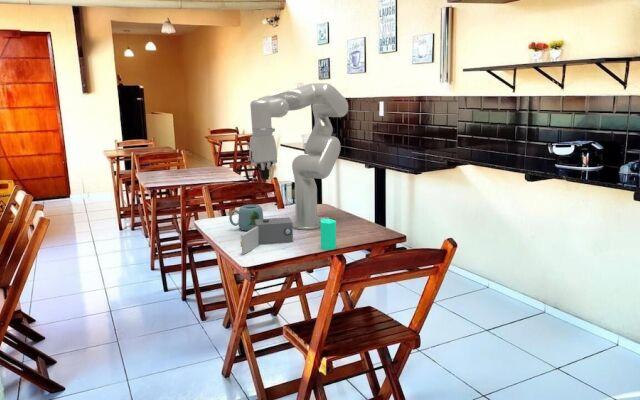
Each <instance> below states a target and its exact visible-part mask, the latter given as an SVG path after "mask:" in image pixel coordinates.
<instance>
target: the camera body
mask: <svg viewBox="0 0 640 400" xmlns="http://www.w3.org/2000/svg"><path fill="white" fill-rule="evenodd" d="M293 223H294V222H293V221H292V220H291V218H290V217H274V218H271V217H270V218H263V219H255V227H256V226H259V245H273V244H284V243H285V244H286V243H287V244H288V243H294V232H293V231H294V228H293ZM259 245H258V246H259Z"/></svg>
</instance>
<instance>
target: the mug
mask: <svg viewBox="0 0 640 400" xmlns="http://www.w3.org/2000/svg"><path fill="white" fill-rule="evenodd" d="M263 212H264V211H263V207H262V206H260V205H258V204H245V205H242V206H240V207H239V209H238V210H237V209H232V210H231V211H230V213H229V221H230V224H231V225H232V226H233V227H236V226H238V228H239V229H241V230H242V231H245V232H248V231H249V230H251V229H253V228H254V227H255V219H264V213H263ZM233 213H236V214H238V219H237V222H236V223H235V222H234V221H233Z"/></svg>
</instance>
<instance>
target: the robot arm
mask: <svg viewBox="0 0 640 400" xmlns="http://www.w3.org/2000/svg"><path fill="white" fill-rule="evenodd" d="M309 106H312V113H313V118H314V125H313V128H312V131H311V133H310V134H309V136H308V139H307V140H306V143H305V145H304V152H305V153H306V154H300V155H297V156H296V157H294V159H293V161H292V165H291V168H292V174H293V178H294V200H295V201H294V204H295V207H294V208H295V209H294V210H295V221H294V222H292V223H293V229H297V230H303V231H304V230H305V231H306V230H307V231H308V230H317V229H319V228H321V222H320V221H321V220H324V219H328V217H327V216H325V217H324V216H318V188H317V183H316V181H315V179H321V180H324V179H327V178H328V177H329V176H330V174H331V172H332V170H333V168H334V166H335V164H336V162H337V160H338V158H339V156H340V153H341V142H340V140H339V138H338V137H336V136H334V135H333V129H334V128H333V126H332V122H331V120H330V119H329V117H330V118H342V117H345V116H346V115H347V114H348V112H349V103H348V100H347V99H346V98H345V96H344V95H343V94H342V93H341V92H340V91H339V90H338V89H337V88H336V87H335V86H333V85H332V84H330V83H326V82H324V83H323V82H321V83H320V82H317V83H314V82H313V83H308V84H305V85H302V86H299V87H297V88H293V89H290V90H289V89H288V90H284V91H281V92H276V93H271V94H268V95H264V96H261V97H259V98H258V99H256V100H255V99H254V100H251V102H250V107H249V108H250V118H251V134H252V136H250V138H249V161H250V166H252V167H258V169H259V170H260V171H259V172H260V178H261V179H262V180H264V181H267V180H270V179H269V178H270V169H271V167H272V166H273V165H274V164H276V163H278V151H277V150H278V149H277V144H276V139H275V135H273V133H274V132H276V128H275V127H274V128H273V126H272V125H273V124H272V118H278V119H279V118H283V117H285V116H286V115H288V112H291V111H297V110H299V111H300V110H302V109H304V108H306V107H309Z"/></svg>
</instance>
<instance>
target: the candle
mask: <svg viewBox="0 0 640 400" xmlns="http://www.w3.org/2000/svg"><path fill="white" fill-rule="evenodd" d="M327 218H328V219H324V220H321V221H320V222H321V226H320V249H322V250H324V251H325V250H326V251H329V250H335V249H336V248H337V220H334V219H331V218H329V217H327Z"/></svg>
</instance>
